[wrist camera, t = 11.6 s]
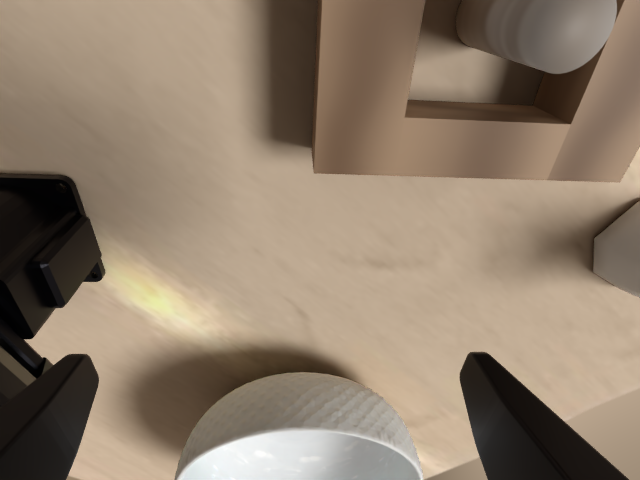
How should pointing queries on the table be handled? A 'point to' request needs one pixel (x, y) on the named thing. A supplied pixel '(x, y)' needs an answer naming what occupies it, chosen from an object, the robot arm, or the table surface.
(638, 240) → the flask
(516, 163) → the plate
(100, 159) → the table surface
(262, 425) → the cereal bowl
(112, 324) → the table surface
